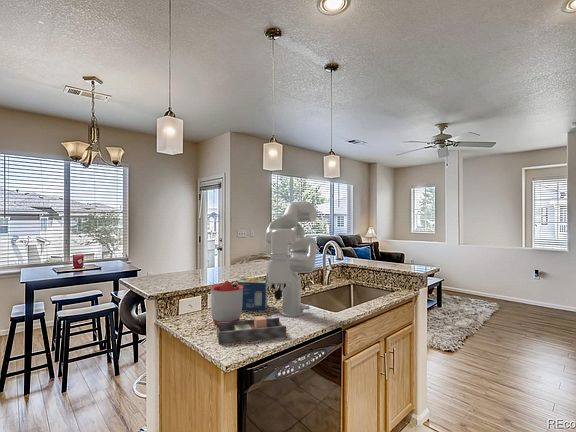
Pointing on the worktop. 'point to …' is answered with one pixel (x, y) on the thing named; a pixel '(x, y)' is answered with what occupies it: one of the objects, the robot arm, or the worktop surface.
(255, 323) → the terracotta block
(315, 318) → the worktop surface
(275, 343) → the worktop surface
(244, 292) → the protein box
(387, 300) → the worktop surface
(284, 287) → the robot arm
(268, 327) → the box
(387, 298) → the worktop surface
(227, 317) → the citrus juicer
